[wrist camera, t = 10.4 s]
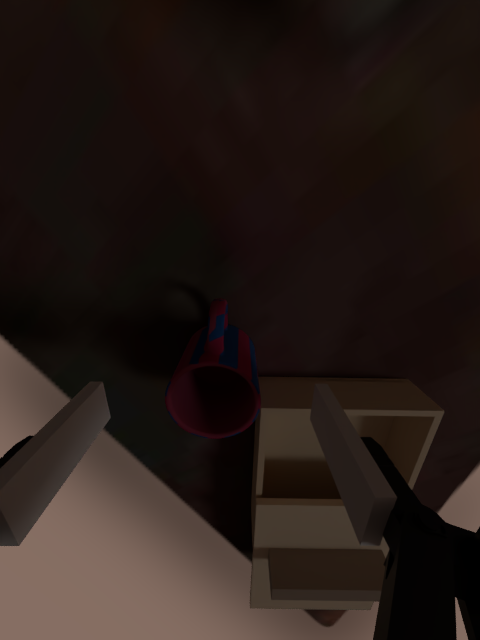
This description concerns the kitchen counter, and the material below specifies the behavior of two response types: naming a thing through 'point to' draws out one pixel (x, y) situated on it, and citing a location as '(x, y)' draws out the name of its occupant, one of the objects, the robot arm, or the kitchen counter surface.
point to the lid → (312, 557)
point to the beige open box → (302, 443)
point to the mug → (215, 380)
